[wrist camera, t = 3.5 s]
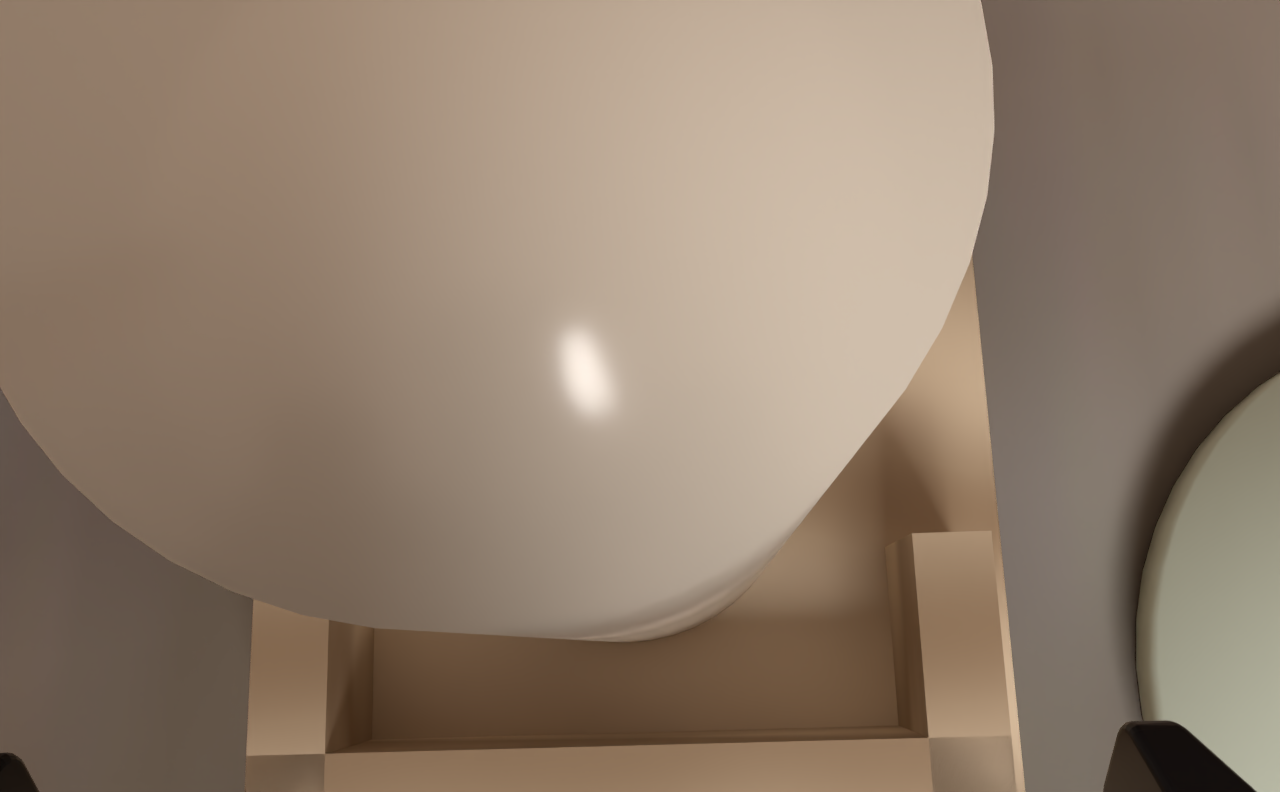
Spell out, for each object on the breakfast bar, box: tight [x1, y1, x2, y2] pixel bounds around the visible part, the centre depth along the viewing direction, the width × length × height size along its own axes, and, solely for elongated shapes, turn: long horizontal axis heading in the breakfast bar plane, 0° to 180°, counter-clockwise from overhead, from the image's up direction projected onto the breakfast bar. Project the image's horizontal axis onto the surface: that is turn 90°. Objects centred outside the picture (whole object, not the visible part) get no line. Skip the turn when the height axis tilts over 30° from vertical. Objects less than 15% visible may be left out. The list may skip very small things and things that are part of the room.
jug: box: [0, 0, 994, 643], centre depth 13 cm, size 8×6×14 cm
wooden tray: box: [245, 256, 1025, 792], centre depth 19 cm, size 13×13×4 cm
